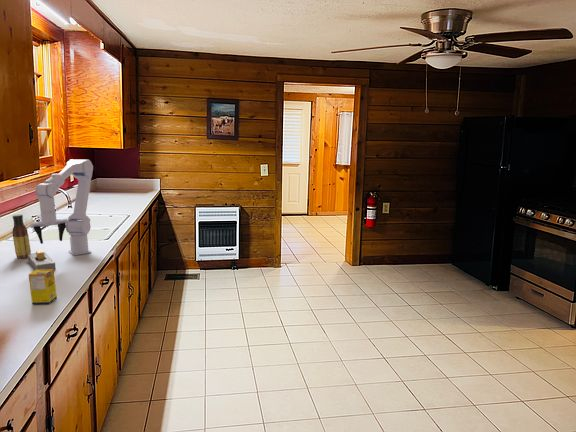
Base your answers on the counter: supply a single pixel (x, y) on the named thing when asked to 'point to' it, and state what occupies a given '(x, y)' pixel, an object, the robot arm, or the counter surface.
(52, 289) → the supplement box
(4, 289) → the counter surface
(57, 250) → the counter surface
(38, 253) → the tan wooden block
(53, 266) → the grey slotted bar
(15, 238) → the sauce bottle
